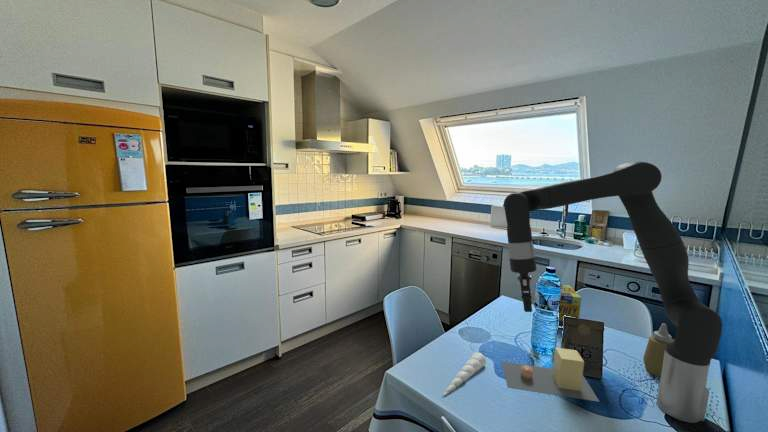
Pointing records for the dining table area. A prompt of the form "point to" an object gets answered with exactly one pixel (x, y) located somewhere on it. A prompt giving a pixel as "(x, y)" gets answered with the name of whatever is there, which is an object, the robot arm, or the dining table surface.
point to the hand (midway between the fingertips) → (527, 307)
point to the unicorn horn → (467, 371)
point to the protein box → (569, 303)
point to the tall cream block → (568, 369)
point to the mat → (543, 382)
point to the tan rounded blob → (526, 372)
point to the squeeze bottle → (656, 351)
